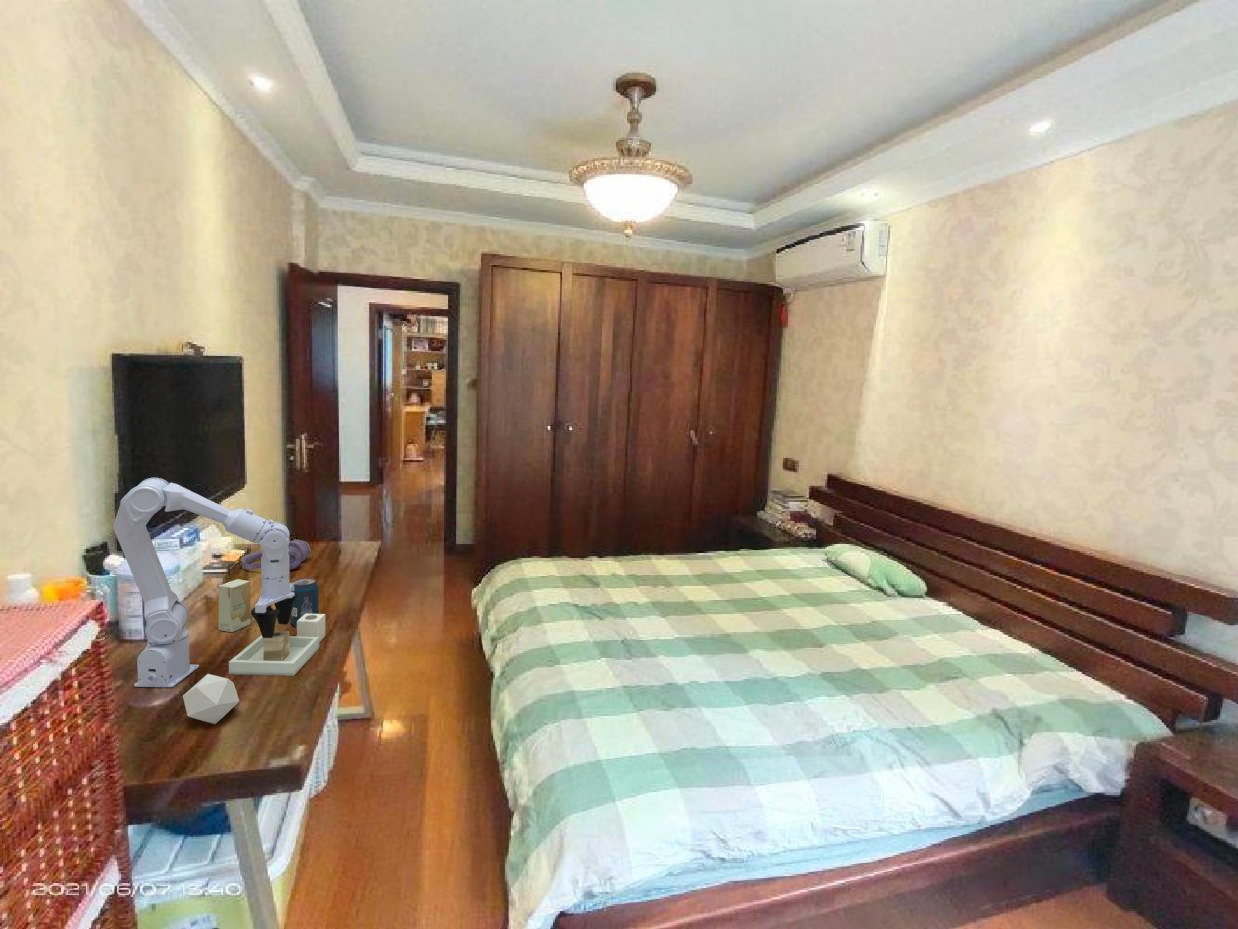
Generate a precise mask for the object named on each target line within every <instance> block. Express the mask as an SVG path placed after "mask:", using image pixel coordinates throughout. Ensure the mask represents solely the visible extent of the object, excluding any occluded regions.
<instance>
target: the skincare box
mask: <svg viewBox="0 0 1238 929" xmlns="http://www.w3.org/2000/svg"><path fill="white" fill-rule="evenodd" d="M249 625H251V581H250V580H244V579H239V578H238V579H234V580H232V581H228V582H226V583H222V584H219V585H218V630H219V631H223V632H229V633H233V632H235V631H238V630H240V629H243V628H245V627H247V626H249Z"/></svg>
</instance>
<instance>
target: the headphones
mask: <svg viewBox="0 0 1238 929" xmlns="http://www.w3.org/2000/svg"><path fill="white" fill-rule="evenodd" d="M288 548H289V553H288V554H289V571H293V570H295V569H297V568H298V567H299V566H300V564H301V563H303V561H306V560H307V559H308V557H309V556H310V555H311V551H312V550H311V546H310V544H309V543H308V542H307V541H305V540H300V539H295V540H290V542H289V545H288ZM261 557H262V550H260V551H254V552H252V553H247V554H245V555H244V556H242V557H241V558H240V563H241V567H242V568H241V569H243V570H254V569H261V562H259V563H252V562H254V561H257V560H259V559H261Z"/></svg>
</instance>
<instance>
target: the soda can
mask: <svg viewBox="0 0 1238 929" xmlns="http://www.w3.org/2000/svg"><path fill="white" fill-rule="evenodd" d="M291 583H294V591H293V592H294V593H298V598H297V600H296V601H295V604H294V606H293V609H292V612H291V616H290V620H289V622H290V623H291V624H292V626H293V627H296V628H297V621H298V620H299V619H300V618H301V617H302V616H303V615H304V614H320V612H319V611H320V610H319V609H320V607H319V605H320V604H319V599H320V598H319V596H320V595H319V584H318V583H317V580H316V578H314V577H302V578H301V577H300V578H296V579H294V580H293V581H292V582H291Z"/></svg>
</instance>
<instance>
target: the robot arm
mask: <svg viewBox="0 0 1238 929" xmlns="http://www.w3.org/2000/svg"><path fill="white" fill-rule="evenodd" d="M163 507H165V509H164V512H173V511H181V510H185V511H188V512H191V513H194V514H196V515H199V516H201V517H204V518H207V519H209V520H212V521H214V522H218V523H221V524H222V525H223V527H224V529H225V531H226V533H227V532H228V533H229V534H232V535H234V536H237V537H239V538H241V539H243V540H246V541H249V542H251V543H253V544H259V546H260V548H261V549H262V550H261V551H262V557H261V558H260V561H261V562H260V563H261V568H260V571H261V572H260V573H261V574H260V575H261V576H260V578H261V581H260V582H261V584H260V585H261V593H260V596H259V598H258V601H257V603H255V604H254V607H253V608H252V609H250V616H252V617H253V618H254V620H255V621H256V623H257V625H258V628H259V630H260V631H259V632H260V634H261V635H262V637H263V638H272V637H273V635H274V631H276V630H275V628H276V622H277V623H278V625H288V624H289V623H290V616H291V612H292V609H293V606H294V604H295V601H296V600H297V598H298V593H294V592H293V591H294V583H292V582H290V570H289V554H288V553H289V548H288V545H289V542H290V541H291V540H290V530H289V529H288V527H287V526H286V525H285V524H283V523H282V522H280V521H275V520H273V519H271V518H270V519H265V518H264V517H261V516H259V515H257V514H255V513H254V510H253V509H250V508H247V509H243V508H237V509H233V510H232V509H229V508H227V507H225V506H223V505H221V504H219V503H216V502H214V501H213V500H210V499H208V498H206V497H204V496H202V495H200V494H198V493H196V492H193V491H192V490H190V489H188V488H186V487H183V485H180V484H178V483H174V482H168V481H167V480H165V479H164V478H161V477H160V478H159V477H150V478H146V479H143V480H142V481H141V482H140V483H139V484H137V486H135V487H133V488H131V489H130V490H129V491H128V492H127V493H126V494H125V495H124V496H123V497H122V498H121V500H120V503H119V508H118V511H117V514H116V516H115V518H114V519H115V520H114V522H113V525H112V527H113V531H114V534H115V536H116V538H117V541H118V543H119V545H120V547H121V550H122V553H123V555H124V557H125V559H126V562H127V564H128V567H129V570H130V572H131V574H132V577H133V579H134V582H135V585H136V586H137V589H138V591H139V593H140V597H141V599H142V601H143V604H144V607H143V608H144V609H143V610H144V611H143V615H144V619H145V621H146V626H145V630H144V631H145V636H146V637H147V644H146V646H145V648H144V649H143V650H142V651H141V652H140V653H139V654H138V656H137V661H136V664H137V682H135V683H134V684H133V686H134V688H135V687H137V688H139V687H140V688H143V687H144V688H174V687H175V686H177V685H178V684H179V683H180V682H182V681H183V680H184V679H185V678H187V676H190V675H191V673H193V672H194V671H196V670H197V669H199V667H200V665H199V664H191V663H190V636H189V634H190V633H189V630H188V629H187V628H186V626H185V623H186V621H187V620H188V618H189V616H190V611H189V608H188V607H187V606H186V604H184V603H182V602H181V600H180V599H179V597H178V595H177V594H176V593H175V592H174V591H173V590H172V588H171V586H170V583H169V580H168V579H167V576H166V574H165V571H164V568H163V566H162V563H161V561H160V558H159V556H158V553H157V551H156V549H155V546H154V543H153V541H152V538H151V536H150V534H149V533H150V532H148V529H147V524H148V523H149V521H150V520H151V518H152V517H153V516H154V515H155V514H156V513H158V512H159V511H160V510H161V509H162V508H163ZM272 605H274V608H275V609H274V608H273V607H272ZM261 635H260V636H261Z"/></svg>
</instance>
